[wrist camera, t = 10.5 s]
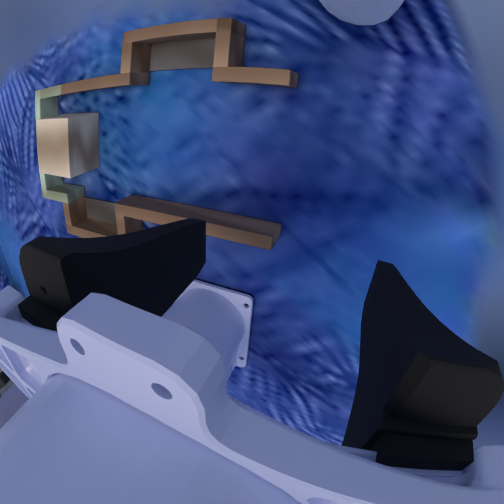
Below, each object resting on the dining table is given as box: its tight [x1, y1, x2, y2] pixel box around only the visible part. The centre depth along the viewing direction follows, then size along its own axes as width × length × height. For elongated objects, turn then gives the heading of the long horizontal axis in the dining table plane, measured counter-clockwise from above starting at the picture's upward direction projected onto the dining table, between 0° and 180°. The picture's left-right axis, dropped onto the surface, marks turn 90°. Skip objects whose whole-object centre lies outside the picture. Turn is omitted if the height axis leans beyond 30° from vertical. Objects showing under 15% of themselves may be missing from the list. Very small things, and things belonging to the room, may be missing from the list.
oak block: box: [37, 112, 99, 178], centre depth 25 cm, size 6×6×4 cm
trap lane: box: [35, 18, 299, 250], centre depth 23 cm, size 19×26×2 cm
